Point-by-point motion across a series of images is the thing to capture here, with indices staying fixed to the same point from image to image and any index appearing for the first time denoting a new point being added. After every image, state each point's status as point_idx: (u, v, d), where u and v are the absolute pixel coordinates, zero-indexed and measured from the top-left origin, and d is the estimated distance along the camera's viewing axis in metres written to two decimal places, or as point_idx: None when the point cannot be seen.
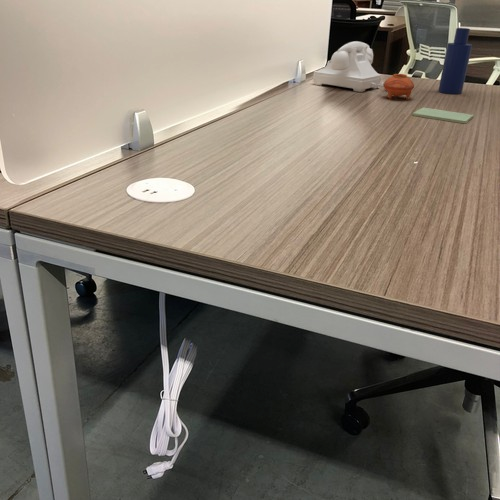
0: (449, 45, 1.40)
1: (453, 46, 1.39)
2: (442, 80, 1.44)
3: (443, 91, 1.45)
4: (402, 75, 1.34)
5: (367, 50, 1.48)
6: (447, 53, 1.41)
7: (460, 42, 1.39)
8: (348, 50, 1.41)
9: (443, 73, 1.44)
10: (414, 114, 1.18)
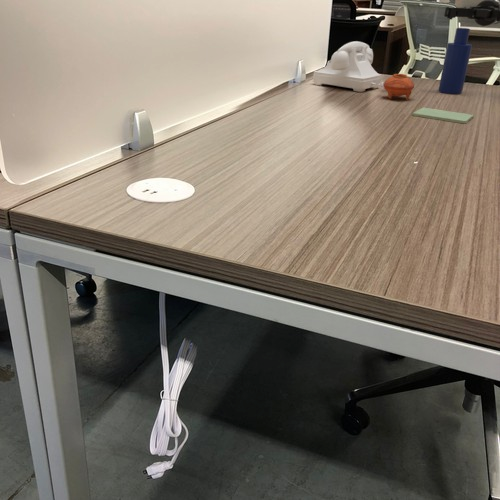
0: (449, 45, 1.40)
1: (453, 46, 1.39)
2: (442, 80, 1.44)
3: (443, 91, 1.45)
4: (402, 75, 1.34)
5: (367, 50, 1.48)
6: (447, 53, 1.41)
7: (460, 42, 1.39)
8: (348, 50, 1.41)
9: (443, 73, 1.44)
10: (414, 114, 1.18)
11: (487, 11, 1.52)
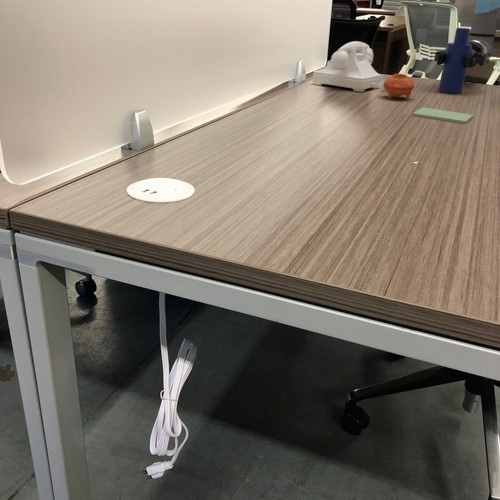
0: (449, 45, 1.40)
1: (453, 46, 1.39)
2: (442, 80, 1.44)
3: (443, 91, 1.45)
4: (402, 75, 1.34)
5: (367, 50, 1.48)
6: (447, 53, 1.41)
7: (460, 42, 1.39)
8: (348, 50, 1.41)
9: (443, 73, 1.44)
10: (414, 114, 1.18)
11: None
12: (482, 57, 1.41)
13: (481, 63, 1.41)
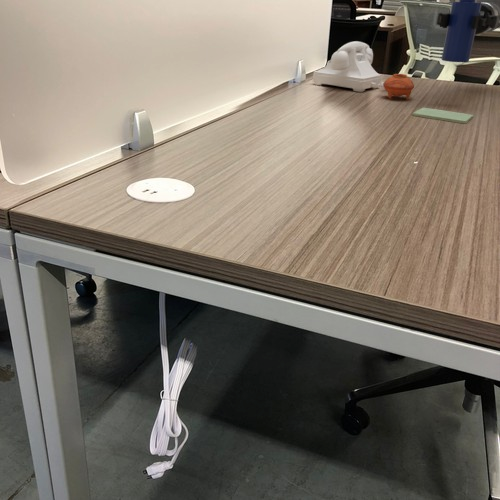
0: (454, 3, 1.19)
1: (459, 4, 1.17)
2: (446, 46, 1.23)
3: (447, 59, 1.23)
4: (402, 75, 1.34)
5: (367, 50, 1.48)
6: (452, 13, 1.20)
7: None
8: (348, 50, 1.41)
9: (447, 37, 1.22)
10: (414, 114, 1.18)
11: None
12: (493, 18, 1.19)
13: (492, 25, 1.20)
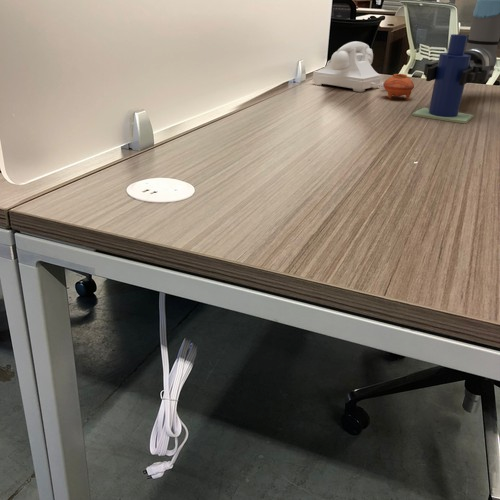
0: (442, 56, 1.11)
1: (447, 57, 1.10)
2: (433, 99, 1.16)
3: (434, 113, 1.16)
4: (402, 75, 1.34)
5: (367, 50, 1.48)
6: (439, 66, 1.12)
7: (455, 52, 1.10)
8: (348, 50, 1.41)
9: (434, 91, 1.15)
10: (414, 114, 1.18)
11: None
12: (483, 72, 1.12)
13: (482, 79, 1.13)
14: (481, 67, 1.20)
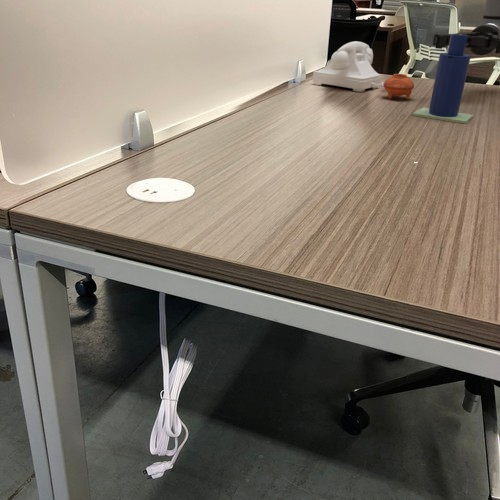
0: (442, 56, 1.11)
1: (447, 57, 1.10)
2: (433, 99, 1.16)
3: (434, 113, 1.16)
4: (402, 75, 1.34)
5: (367, 50, 1.48)
6: (439, 66, 1.12)
7: (455, 52, 1.10)
8: (348, 50, 1.41)
9: (434, 91, 1.15)
10: (414, 114, 1.18)
11: (484, 39, 1.26)
12: None
13: None
14: None
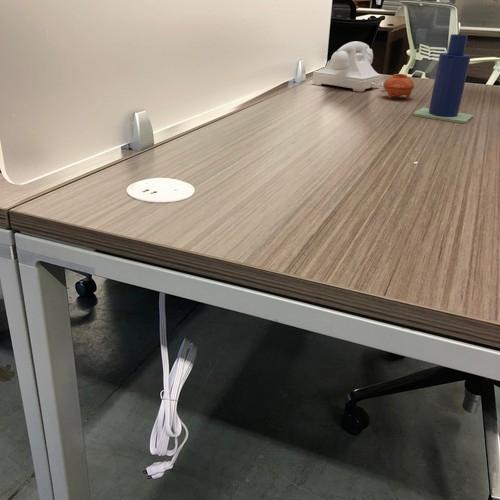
0: (442, 56, 1.11)
1: (447, 57, 1.10)
2: (433, 99, 1.16)
3: (434, 113, 1.16)
4: (402, 75, 1.34)
5: (367, 50, 1.48)
6: (439, 66, 1.12)
7: (455, 52, 1.10)
8: (348, 50, 1.41)
9: (434, 91, 1.15)
10: (414, 114, 1.18)
11: None
12: None
13: None
14: None
